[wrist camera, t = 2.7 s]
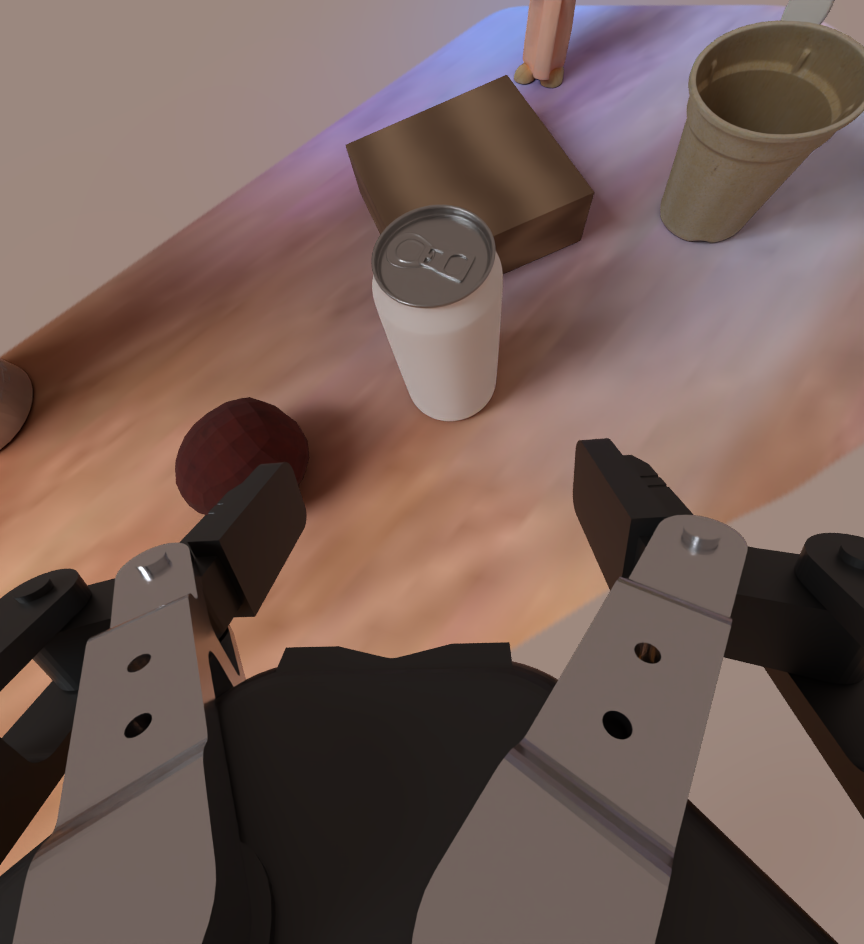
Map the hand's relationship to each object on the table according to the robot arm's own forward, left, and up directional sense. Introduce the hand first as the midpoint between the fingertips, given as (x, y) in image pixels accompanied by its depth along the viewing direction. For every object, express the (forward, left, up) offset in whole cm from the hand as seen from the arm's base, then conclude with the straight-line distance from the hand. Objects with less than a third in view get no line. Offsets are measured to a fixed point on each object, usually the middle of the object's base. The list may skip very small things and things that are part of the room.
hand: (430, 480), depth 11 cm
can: (+4, +11, -16) cm, 19 cm away
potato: (-11, +10, -16) cm, 22 cm away
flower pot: (+27, +16, -16) cm, 35 cm away
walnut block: (+11, +25, -15) cm, 31 cm away
